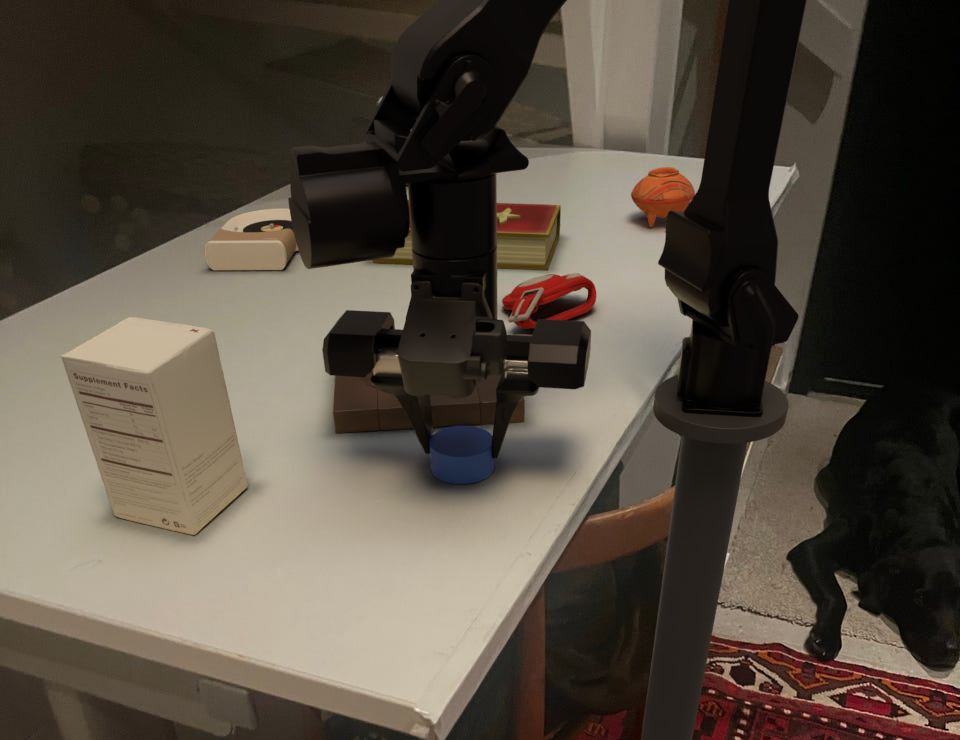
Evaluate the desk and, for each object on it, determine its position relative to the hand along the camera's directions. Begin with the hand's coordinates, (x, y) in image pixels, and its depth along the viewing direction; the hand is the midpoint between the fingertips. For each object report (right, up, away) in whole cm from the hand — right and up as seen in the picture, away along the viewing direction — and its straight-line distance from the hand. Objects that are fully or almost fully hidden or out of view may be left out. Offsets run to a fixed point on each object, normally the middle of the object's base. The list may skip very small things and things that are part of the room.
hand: (461, 454), depth 72 cm
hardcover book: (0, +33, +41) cm, 53 cm away
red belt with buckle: (+7, +19, +25) cm, 32 cm away
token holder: (-4, +9, +12) cm, 15 cm away
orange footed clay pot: (+10, +32, +46) cm, 57 cm away
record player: (-25, +35, +45) cm, 62 cm away
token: (0, -1, +1) cm, 1 cm away
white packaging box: (-21, -4, -2) cm, 22 cm away
